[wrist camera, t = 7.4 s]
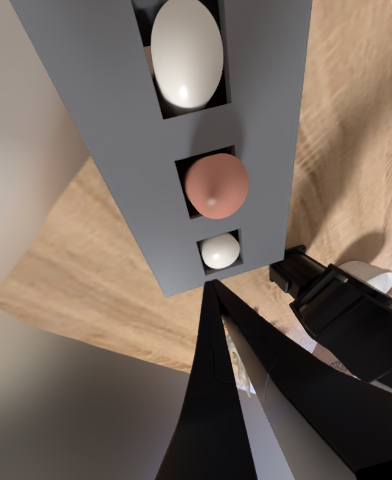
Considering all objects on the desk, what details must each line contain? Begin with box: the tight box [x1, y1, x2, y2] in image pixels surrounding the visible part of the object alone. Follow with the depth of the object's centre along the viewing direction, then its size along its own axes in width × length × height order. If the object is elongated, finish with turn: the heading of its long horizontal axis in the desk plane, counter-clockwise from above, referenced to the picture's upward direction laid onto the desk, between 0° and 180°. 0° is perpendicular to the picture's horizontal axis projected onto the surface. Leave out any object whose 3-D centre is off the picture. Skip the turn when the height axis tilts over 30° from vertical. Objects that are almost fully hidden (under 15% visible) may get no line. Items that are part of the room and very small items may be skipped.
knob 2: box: [197, 232, 240, 269], centre depth 18 cm, size 4×4×4 cm
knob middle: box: [183, 154, 249, 219], centre depth 12 cm, size 4×4×4 cm
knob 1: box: [151, 0, 223, 118], centre depth 10 cm, size 4×4×4 cm
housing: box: [10, 0, 312, 298], centre depth 14 cm, size 16×23×5 cm
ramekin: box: [338, 261, 392, 294], centre depth 30 cm, size 11×11×5 cm
